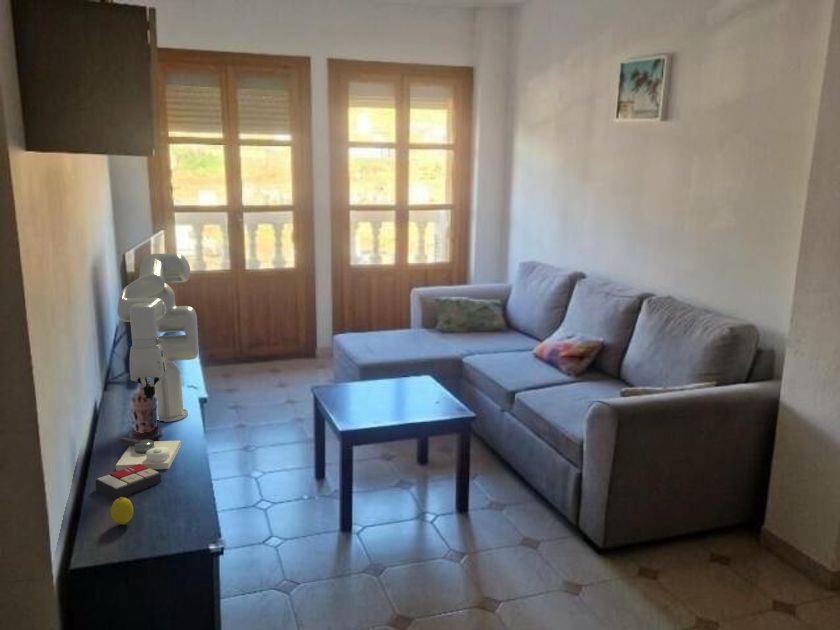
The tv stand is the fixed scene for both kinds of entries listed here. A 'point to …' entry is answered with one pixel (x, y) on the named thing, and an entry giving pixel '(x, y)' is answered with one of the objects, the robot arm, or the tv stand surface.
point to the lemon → (122, 510)
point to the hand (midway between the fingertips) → (150, 397)
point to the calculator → (127, 481)
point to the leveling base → (142, 458)
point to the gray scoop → (138, 444)
